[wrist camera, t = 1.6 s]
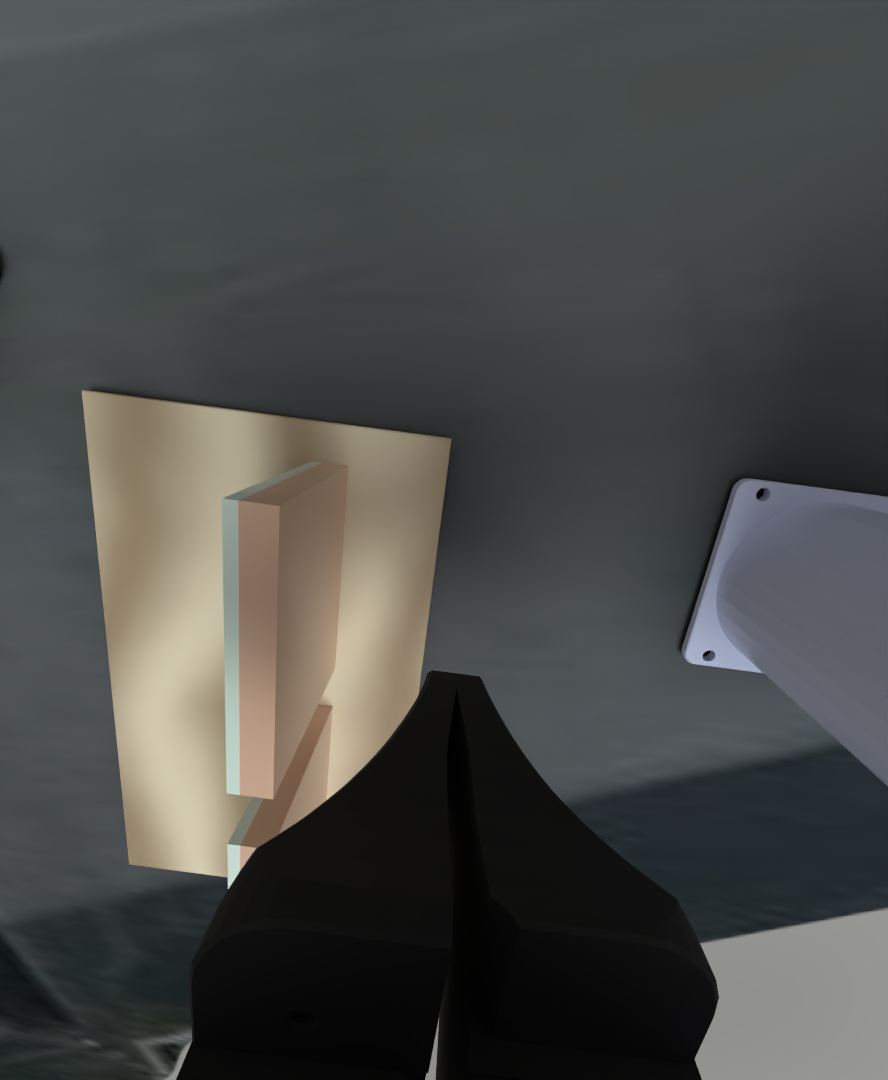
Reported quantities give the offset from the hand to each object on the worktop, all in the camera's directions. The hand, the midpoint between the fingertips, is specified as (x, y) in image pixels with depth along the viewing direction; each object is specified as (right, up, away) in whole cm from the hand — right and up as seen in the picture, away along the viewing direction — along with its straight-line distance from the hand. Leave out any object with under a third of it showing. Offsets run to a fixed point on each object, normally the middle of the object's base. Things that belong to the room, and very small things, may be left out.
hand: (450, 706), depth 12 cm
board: (-8, -2, +10) cm, 13 cm away
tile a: (-5, +3, +7) cm, 9 cm away
